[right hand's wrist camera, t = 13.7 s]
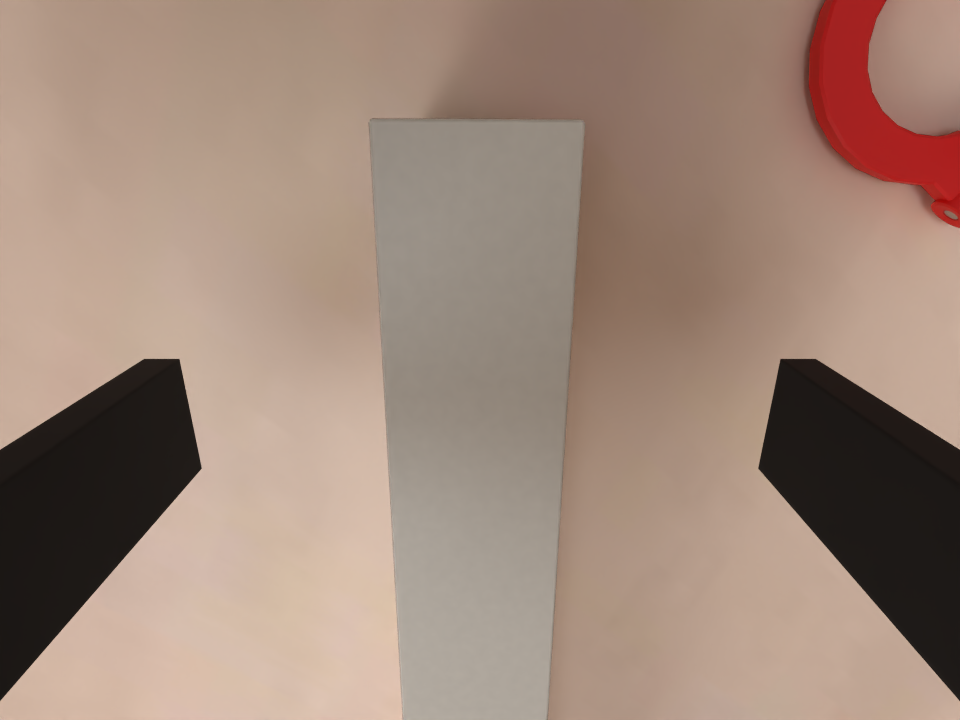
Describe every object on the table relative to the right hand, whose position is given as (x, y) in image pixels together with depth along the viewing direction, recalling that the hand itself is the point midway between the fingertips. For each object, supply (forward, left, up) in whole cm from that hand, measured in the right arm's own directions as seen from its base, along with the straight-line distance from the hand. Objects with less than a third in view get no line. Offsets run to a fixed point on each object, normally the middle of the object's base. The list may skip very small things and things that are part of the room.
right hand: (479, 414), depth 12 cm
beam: (+14, +15, -9) cm, 23 cm away
